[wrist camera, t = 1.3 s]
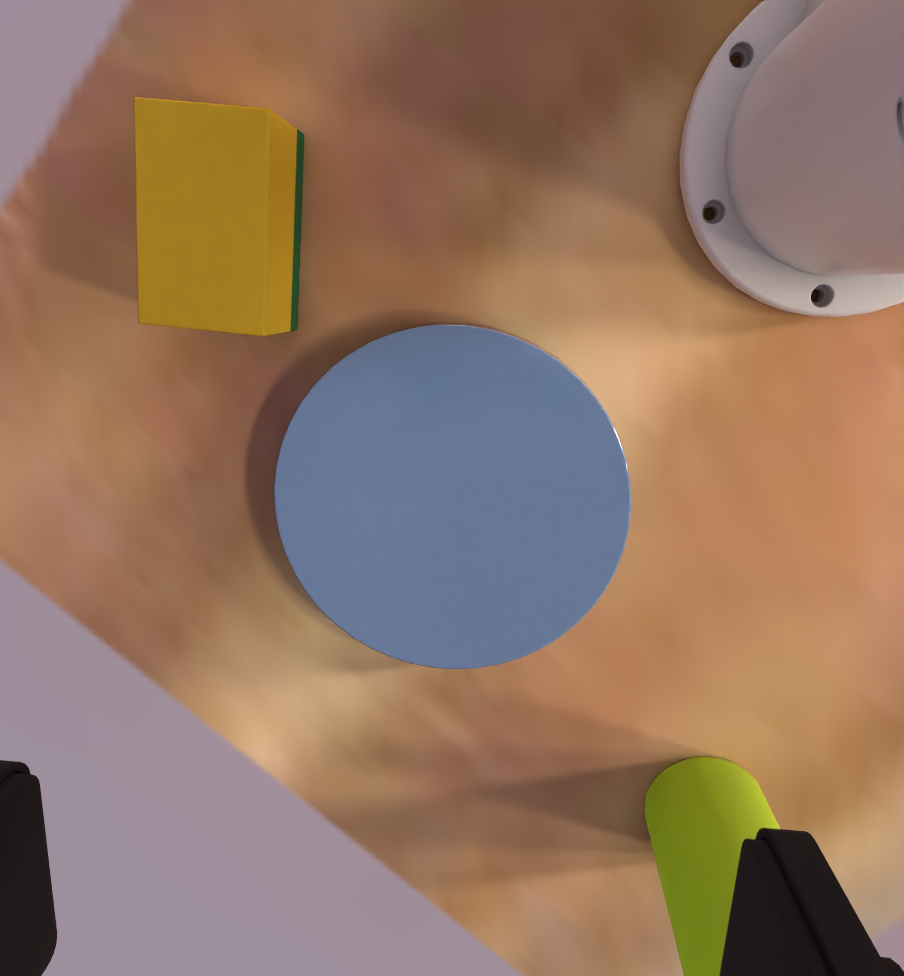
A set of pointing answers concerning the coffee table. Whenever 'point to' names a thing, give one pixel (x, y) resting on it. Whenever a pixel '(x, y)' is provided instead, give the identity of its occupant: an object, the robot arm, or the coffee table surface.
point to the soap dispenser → (702, 849)
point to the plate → (452, 496)
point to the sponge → (217, 217)
